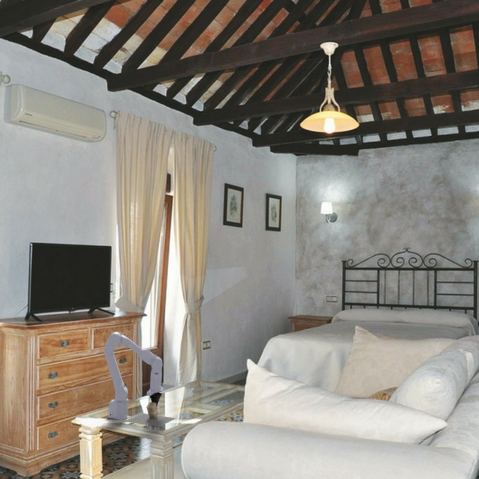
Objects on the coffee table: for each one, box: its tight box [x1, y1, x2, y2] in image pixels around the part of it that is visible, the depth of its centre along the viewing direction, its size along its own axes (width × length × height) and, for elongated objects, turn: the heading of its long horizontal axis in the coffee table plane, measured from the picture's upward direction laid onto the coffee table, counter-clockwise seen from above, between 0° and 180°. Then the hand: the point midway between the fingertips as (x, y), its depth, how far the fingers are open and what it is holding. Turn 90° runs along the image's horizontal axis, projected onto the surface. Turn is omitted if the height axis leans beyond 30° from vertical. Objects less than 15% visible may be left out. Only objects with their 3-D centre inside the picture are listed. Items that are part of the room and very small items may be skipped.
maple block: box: [146, 401, 159, 418], centre depth 294 cm, size 4×4×7 cm
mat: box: [124, 413, 177, 428], centre depth 290 cm, size 20×18×1 cm
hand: (154, 407), depth 296 cm, fingers closed
